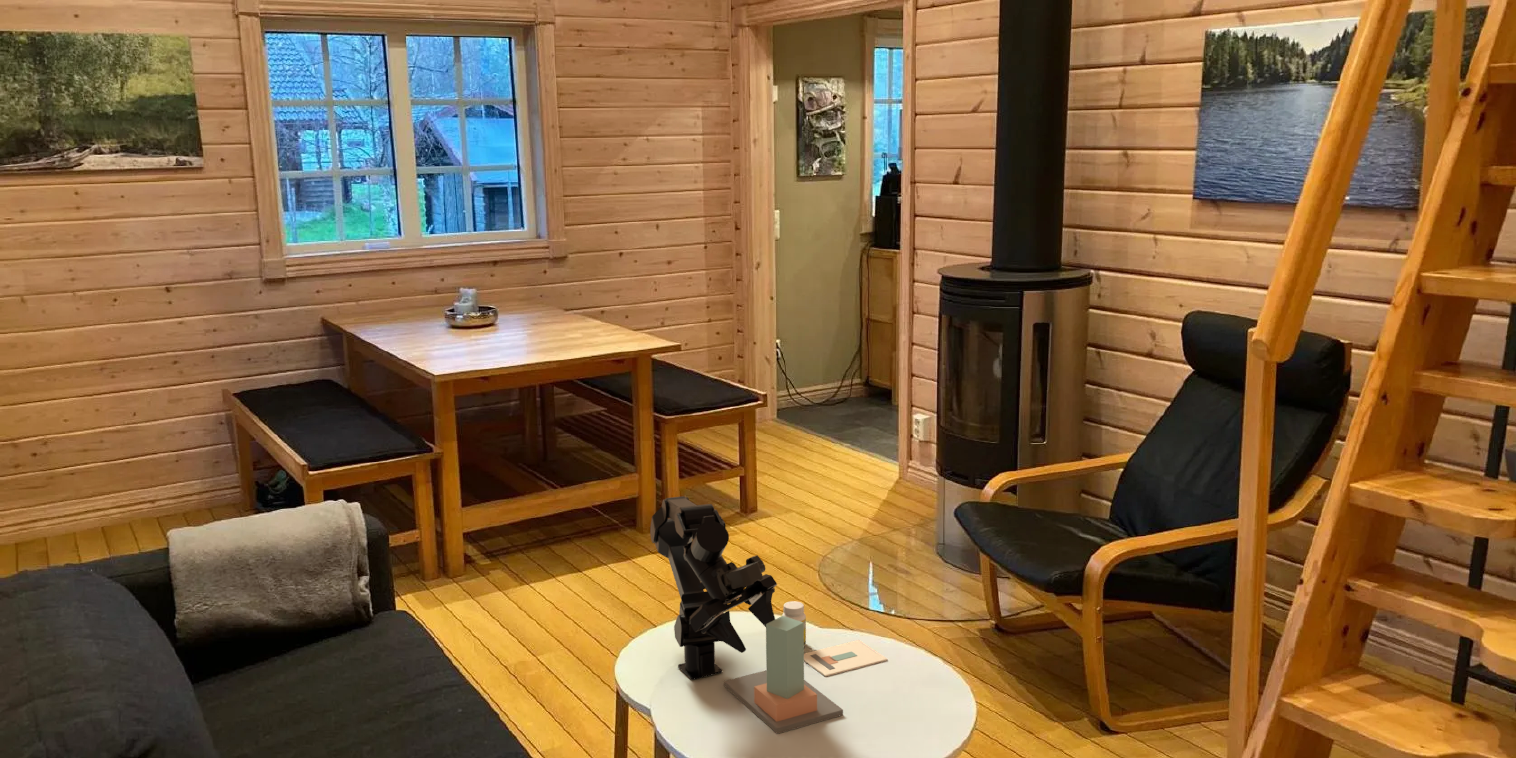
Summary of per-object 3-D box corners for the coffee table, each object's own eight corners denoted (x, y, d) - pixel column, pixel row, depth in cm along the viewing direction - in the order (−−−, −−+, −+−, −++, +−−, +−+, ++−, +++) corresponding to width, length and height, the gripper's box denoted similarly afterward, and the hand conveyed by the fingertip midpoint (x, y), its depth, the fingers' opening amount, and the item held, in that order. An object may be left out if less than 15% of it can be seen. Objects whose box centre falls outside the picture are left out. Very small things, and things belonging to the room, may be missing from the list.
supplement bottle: (777, 646, 226) (776, 606, 225) (790, 637, 230) (789, 598, 228) (797, 652, 224) (797, 611, 222) (810, 643, 227) (810, 603, 226)
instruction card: (797, 656, 222) (797, 654, 221) (858, 641, 228) (858, 639, 228) (825, 676, 213) (825, 674, 213) (887, 660, 219) (887, 658, 219)
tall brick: (766, 691, 199) (765, 624, 196) (783, 681, 202) (782, 615, 200) (787, 699, 196) (786, 631, 194) (804, 689, 199) (803, 622, 197)
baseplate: (723, 686, 210) (723, 665, 209) (785, 670, 216) (785, 650, 215) (777, 733, 192) (777, 711, 192) (842, 714, 198) (842, 693, 198)
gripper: (700, 560, 194) (752, 638, 190) (768, 531, 209) (818, 602, 204) (667, 593, 201) (717, 669, 196) (735, 563, 215) (783, 633, 210)
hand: (760, 642), depth 201 cm, fingers open, 9 cm apart
